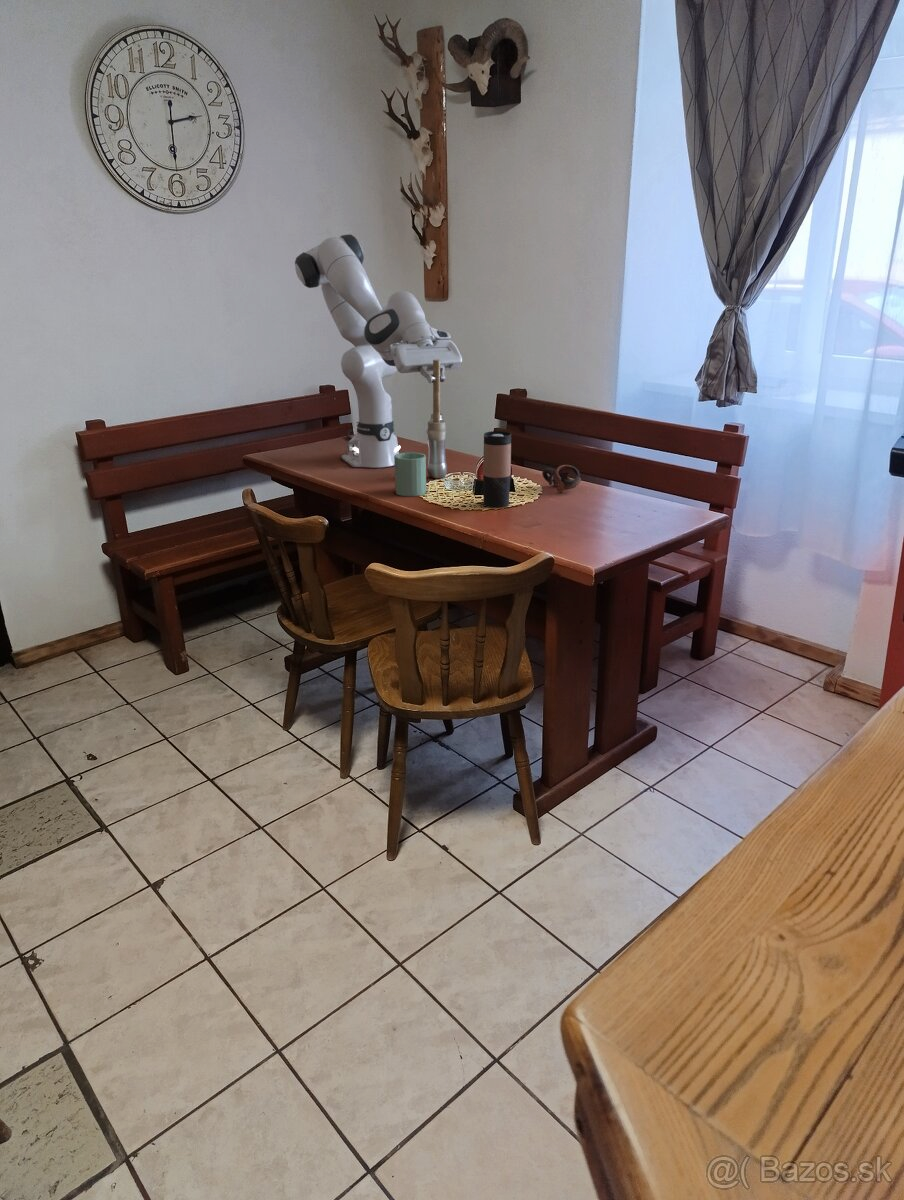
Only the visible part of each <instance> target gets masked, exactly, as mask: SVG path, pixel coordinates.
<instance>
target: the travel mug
mask: <svg viewBox="0 0 904 1200" xmlns="http://www.w3.org/2000/svg"><path fill="white" fill-rule="evenodd" d="M482 462H483V464H482V468H483V469H482V470H483V471H482V486H483V487H482V488H483V489H482V491H483V495H482V496H483V506H485V507H487V508H493V509H499V508H505V507H508V506H509V504H510V491H511V490H510V489H511V473H512V472H511V468H512V467H511V466H512V465H511V464H512V463H511V462H512V433H511V432H510V431H509V432H507V431H501V430H492V431H486V432H484V433H483V460H482Z"/></svg>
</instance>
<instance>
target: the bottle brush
mask: <svg viewBox="0 0 904 1200" xmlns="http://www.w3.org/2000/svg"><path fill="white" fill-rule="evenodd" d="M432 374H434V377H435V381H434V383H432V414H433V420H428V421H427V428H428V439H427V441H428V440H432V441H442V440H445V428H446V421H445V420H440V413H441V382H440V360H437V359H436V360H433V371H432Z"/></svg>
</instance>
